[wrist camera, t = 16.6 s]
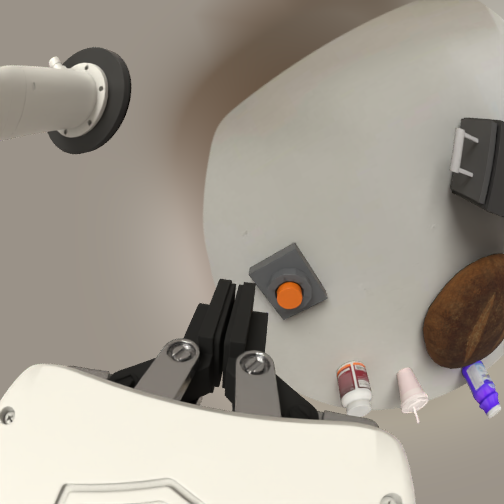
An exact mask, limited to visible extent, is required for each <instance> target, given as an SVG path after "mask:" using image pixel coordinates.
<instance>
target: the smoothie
mask: <svg viewBox="0 0 504 504" xmlns="http://www.w3.org/2000/svg"><path fill="white" fill-rule="evenodd" d="M397 380H398V386H399V392H400V399H401V407H400V408H401V410H402V412H403V413H412V412H414V414H415V418H416V421H417V423H418V424H419V423H420V422H419V418H418V415H417V412H416V411H417V410H419V409H421V408H422V407H424V406H425V405H426V404H427V402H428V400H429V398H428V395H427V394H426V393H425V392H424V391H423V389H422V387H421V385H420V384H419V382H418V380H417V378H416V377H415V375H414V373H413V371H412V370H411V368H403V369H402V370H400V371H399V372H398V373H397Z"/></svg>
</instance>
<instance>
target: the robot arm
mask: <svg viewBox="0 0 504 504" xmlns="http://www.w3.org/2000/svg"><path fill="white" fill-rule="evenodd" d="M49 66H50V68H48V67H33V66H15V65H8V66H2V67H0V141H3V140H7V139H12V138H16V137H21V136H26V135H31V134H36V133H42V132H49V131H55V130H57V131H58V132H59V133H60V134H62V135H63V136H65V137H70V138H72V137H79V136H82V135H84V134H86V133H88V132H89V131H90V130H92V129H93V127H94V126H95V125H96V124H97V123H98V121H99V120H100V118H101V116H102V114H103V112H104V110H105V107H106V104H107V99H108V82H107V78H106V75H105V73H104V72H103V70H102V69H101V68H100V67H98V66H97V65H95V64H91V63H80V64H77V65H75V66H73V67H72V68H70V69H69V68H66V66H62V63H61V62H60V60H59V58H58V57H53V58H52V59H51V60H50V61H49ZM255 286H256V284H254V283H247V282H244V285H239V287H238V291H237V294H236V298H235V290H236V284H232V280H225V279H220V280H219V282H218V285H217V287H216V290H215V292H214V295H213V298H212V300H211V303H210V305H208V304H202V303H200V304H199V305H198V307H197V309H196V311H195V313H194V315H193V318H192V320H191V322H190V325H189V327H188V329H187V331H186V334H185V336H184V338H183V339H175V340H172V341H170V342H168V343H167V344H166V345H165V346H164V348H163V349H162V350H161V352H160V353H159V355H158V356H157V357H156V358H154V359H151V360H149V361H146V362H143V363H140V364H137V365H135V366H132V367H129V368H126V369H123V370H120V371H118V372H115V373H114V374H110V373H109V371H101V370H95V369H88V368H82V367H76V366H63V365H57V364H36V365H33V366H31V367H29V368H28V369H26V370H25V371H24V372H23V373H22V374H21V375H20V376H19V377H18V378H17V379H16V380H15V381H14V383H13V384H12V385H11V386H10V388H9V389H8V391H7V392H6V393H5V395H4V396H3V398H2V399H1V400H0V504H416V501H415V492H414V485H413V480H412V474H411V470H410V466H409V462H408V458H407V455H406V453H405V450H404V448H403V446H402V444H401V442H400V441H399V440H398V438H397V437H396V436H394V435H393V434H391V433H390V432H388V431H386V430H383V429H381V428H379V426H378V425H377V423H375V422H374V421H373V420H370V419H368V418H362V417H356V416H351V415H345V414H340V413H335V412H330V411H324V412H319V411H317V410H316V409H315V408H314V407H313V406H312V405H311V404H310V403H309V402H308V401H306V400H305V399H304V398H303V397H301V396H300V395H299V394H298V393H297V392H296V391H294V390H293V389H292V388H291V387H290V386H289V385H287V384H286V383H285V382H284V381H283V380H282V379H281V378H279V377H278V376H277V375H276V374H275V367H274V362H273V360H272V358H271V357H270V356H269V355H267V354H266V353H265V345H266V334H267V323H268V313H263V312H255V311H253V303H254V295H255ZM222 372H223V385H222V388H225V396H226V397H227V398H228V399H229V400H230V402H231V403H232V411H226V410H221V409H215V408H210V407H204V406H200V403H201V401H202V396H204V395H206V394H208V393H213V390H214V386H215V387H219V385H220V381H221V376H222Z"/></svg>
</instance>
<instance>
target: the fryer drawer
mask: <svg viewBox="0 0 504 504" xmlns="http://www.w3.org/2000/svg"><path fill="white" fill-rule="evenodd" d="M496 142H497V124H496V123H495V122H493V121H486V120H474V119H461V126H460V128H456V130H455V138H454V146H453V152H452V158H451V164H450V171H453V172H454V173H453V178H452V183H451V189H452V190H455V191H457V192H459V193H461V194H463V195H465V196H467V197H469V198H471V199H473V200H475V201H477V202H478V203H481V204H484V203H485V199H487V194H488V190H489V185H490V180H491V175H492V169H493V164H494V157H495V150H496Z"/></svg>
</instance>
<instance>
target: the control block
mask: <svg viewBox="0 0 504 504" xmlns="http://www.w3.org/2000/svg"><path fill="white" fill-rule="evenodd" d="M249 276H250V277H251V278H252V280H253V281H254V282H255V284H256V285H257V286H258V287H259V289H260V290H261V291H262V293H263V294H264V295H265V296H266V298H267V299H268V300H269V302H270V303H271V304H272V306H273V307H274V308H275V309H276V311H277V312H278V313H279V314H280V316H281V317H282V318H283V320H285V319H287V318H289V317H291V316H293V315H295V314H297V313H299V312H301V311H303V310H306V309H308V308H310V307H312V306H314V305H316V304H318V303H320V302H322V301H324V300H326V299H327V294H326V290H325V289H324V287H323V286H322V284H321V282H320V281H319V279H318V278H317V276H316V274H315V273H314V271H313V270H312V268H311V267H310V265H309V263H308V262H307V260H306V259H305V257H304V256H303V254H302V253H301V251H300V250H299V248H298V246H297V245H296V243H293V244H291V245H289V246H288V247H286V248H284V249H282V250H281V251H279V252H277V253H275V254H274V255H272V256H270V257H268V258H266V259H265V260H263V261H261V262H259V263H258V264H256V265H254V266H252V267H251V268H250V271H249ZM285 282H294V283H296V284H298V285H299V286H300V287H301V290H302V302H301V304H300V305H299V306H298V307H296V308H293V309H285V308H283V307H281V306H280V305H279V304H278V302H277V290H278V288H279V286H280V285H281V284H283V283H285Z"/></svg>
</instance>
